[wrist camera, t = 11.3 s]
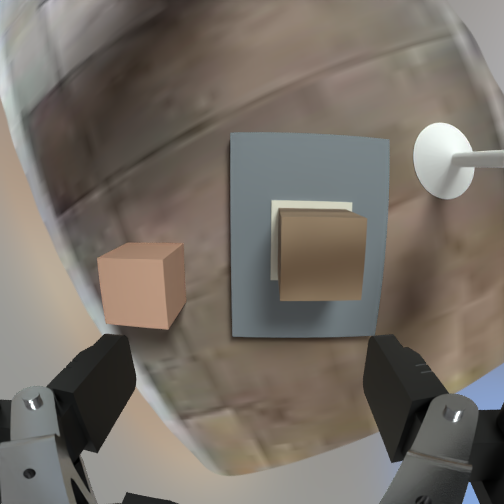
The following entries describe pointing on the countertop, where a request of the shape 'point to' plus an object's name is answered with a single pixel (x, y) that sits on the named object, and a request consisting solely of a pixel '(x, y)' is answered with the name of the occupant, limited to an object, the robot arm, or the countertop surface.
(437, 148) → the champagne flute
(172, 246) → the terracotta block
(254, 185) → the slate board
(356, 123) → the countertop surface
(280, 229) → the walnut block
